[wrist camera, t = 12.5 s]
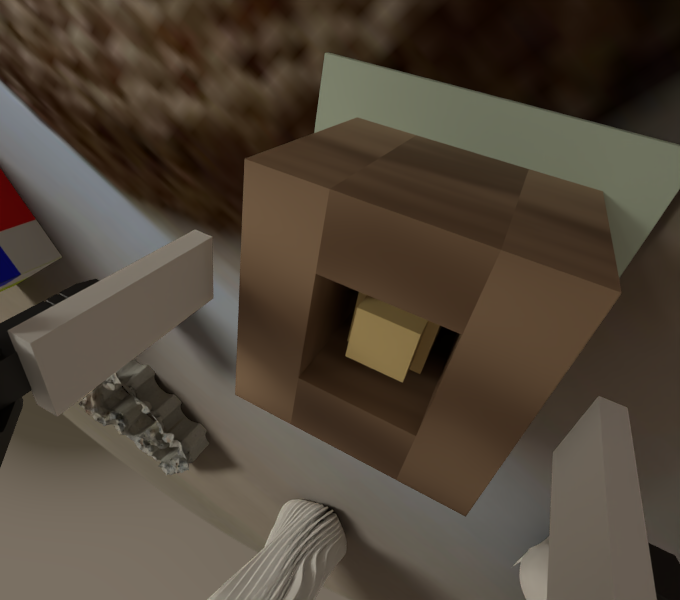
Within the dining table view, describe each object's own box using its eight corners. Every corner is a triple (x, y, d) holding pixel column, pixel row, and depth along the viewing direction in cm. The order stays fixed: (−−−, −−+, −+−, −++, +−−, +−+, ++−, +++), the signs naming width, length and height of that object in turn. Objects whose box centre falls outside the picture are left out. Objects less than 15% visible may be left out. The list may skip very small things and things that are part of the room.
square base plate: (329, 52, 18) (208, 60, 12) (701, 150, 14) (790, 230, 8) (293, 312, 26) (211, 393, 20) (523, 416, 22) (504, 551, 16)
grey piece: (111, 372, 41) (72, 400, 37) (144, 349, 36) (103, 378, 33) (182, 454, 42) (150, 488, 39) (222, 442, 38) (190, 479, 35)
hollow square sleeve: (356, 117, 18) (244, 158, 12) (602, 191, 16) (622, 292, 9) (322, 302, 24) (235, 394, 18) (496, 378, 21) (465, 516, 15)
